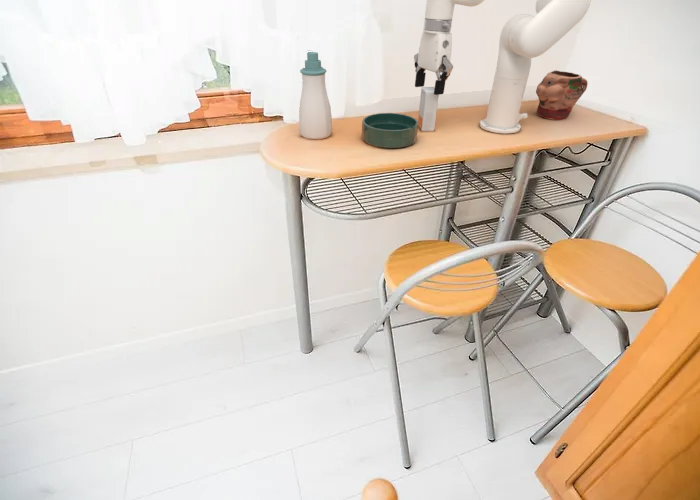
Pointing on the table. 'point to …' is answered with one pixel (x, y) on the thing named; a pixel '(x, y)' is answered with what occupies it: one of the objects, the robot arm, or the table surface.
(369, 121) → the bowl
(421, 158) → the table surface
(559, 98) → the decorative planter
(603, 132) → the table surface
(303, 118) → the soap bottle
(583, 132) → the table surface
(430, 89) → the cosmetic box
